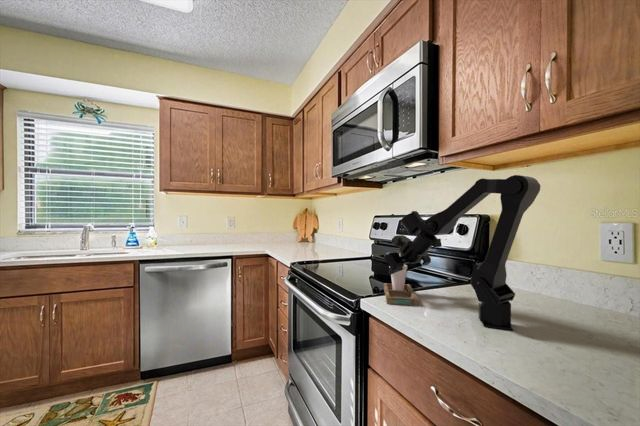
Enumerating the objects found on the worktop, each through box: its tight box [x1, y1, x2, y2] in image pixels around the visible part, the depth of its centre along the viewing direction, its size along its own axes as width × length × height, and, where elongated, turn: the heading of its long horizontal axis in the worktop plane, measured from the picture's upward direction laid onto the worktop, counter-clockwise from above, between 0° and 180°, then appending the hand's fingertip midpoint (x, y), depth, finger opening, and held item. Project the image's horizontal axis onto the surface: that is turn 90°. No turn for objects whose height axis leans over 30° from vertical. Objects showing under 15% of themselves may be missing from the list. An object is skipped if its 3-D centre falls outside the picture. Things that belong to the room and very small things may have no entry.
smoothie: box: [390, 252, 407, 290], centre depth 102 cm, size 6×6×14 cm
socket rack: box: [383, 282, 419, 307], centre depth 98 cm, size 18×10×2 cm, turn 170°
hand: (395, 272), depth 103 cm, fingers closed on smoothie, 6 cm apart
